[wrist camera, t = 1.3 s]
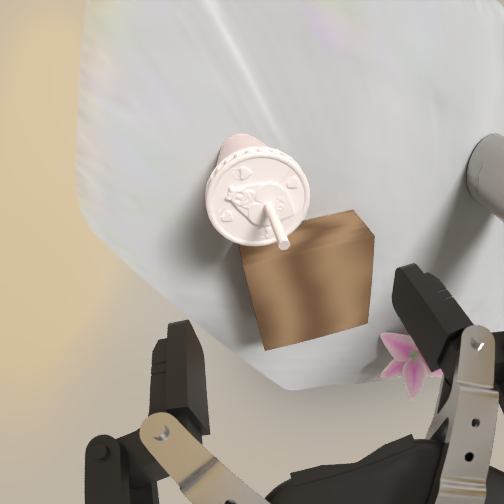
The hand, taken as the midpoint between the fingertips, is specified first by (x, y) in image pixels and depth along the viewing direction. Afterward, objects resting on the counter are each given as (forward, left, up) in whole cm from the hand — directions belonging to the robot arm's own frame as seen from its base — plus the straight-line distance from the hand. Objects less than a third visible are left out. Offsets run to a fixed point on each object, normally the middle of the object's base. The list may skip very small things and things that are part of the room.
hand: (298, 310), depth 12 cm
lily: (-20, +33, -19) cm, 43 cm away
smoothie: (0, 0, -19) cm, 19 cm away
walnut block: (-4, +14, -19) cm, 24 cm away
